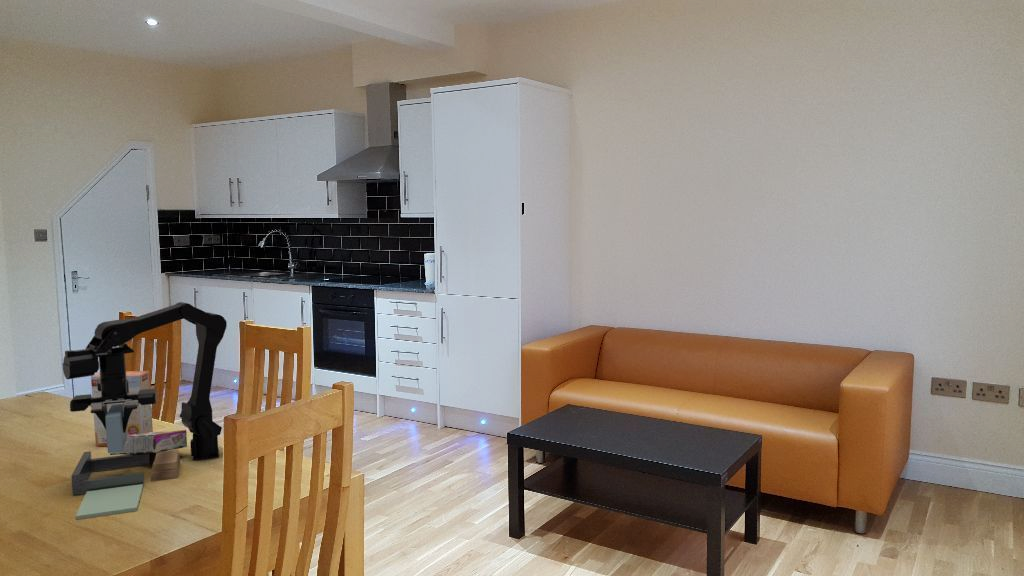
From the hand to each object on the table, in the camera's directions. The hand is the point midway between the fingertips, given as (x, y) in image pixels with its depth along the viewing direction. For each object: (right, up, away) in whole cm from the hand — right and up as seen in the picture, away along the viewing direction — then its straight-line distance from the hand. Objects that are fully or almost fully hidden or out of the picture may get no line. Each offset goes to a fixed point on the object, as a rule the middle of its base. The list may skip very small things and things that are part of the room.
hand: (117, 433), depth 181 cm
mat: (+6, -13, -14) cm, 21 cm away
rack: (-1, -12, +1) cm, 12 cm away
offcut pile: (+10, -11, +5) cm, 16 cm away
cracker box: (-13, -9, +28) cm, 32 cm away
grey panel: (0, -3, 0) cm, 3 cm away
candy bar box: (-7, -6, +18) cm, 20 cm away
